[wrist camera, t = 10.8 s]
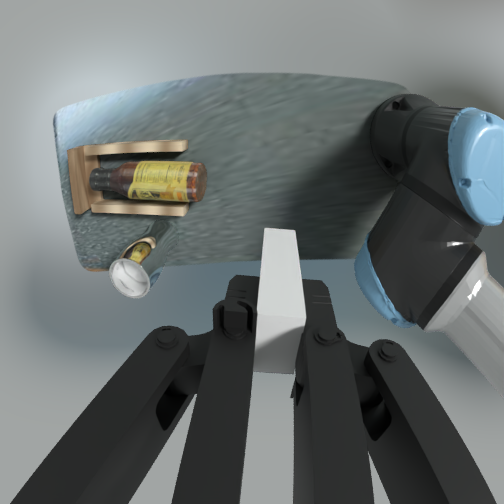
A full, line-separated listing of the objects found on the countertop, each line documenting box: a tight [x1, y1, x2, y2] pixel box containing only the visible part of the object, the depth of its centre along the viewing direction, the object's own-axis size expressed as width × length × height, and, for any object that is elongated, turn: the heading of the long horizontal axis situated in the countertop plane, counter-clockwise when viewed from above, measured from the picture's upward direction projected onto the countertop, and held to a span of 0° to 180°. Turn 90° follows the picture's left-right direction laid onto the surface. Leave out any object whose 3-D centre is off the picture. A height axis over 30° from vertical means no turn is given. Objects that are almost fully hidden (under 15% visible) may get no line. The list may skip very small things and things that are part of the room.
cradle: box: [67, 140, 189, 216], centre depth 45 cm, size 22×12×4 cm, turn 87°
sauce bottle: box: [89, 161, 207, 202], centre depth 44 cm, size 6×6×20 cm
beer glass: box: [109, 219, 179, 298], centre depth 45 cm, size 7×7×15 cm
